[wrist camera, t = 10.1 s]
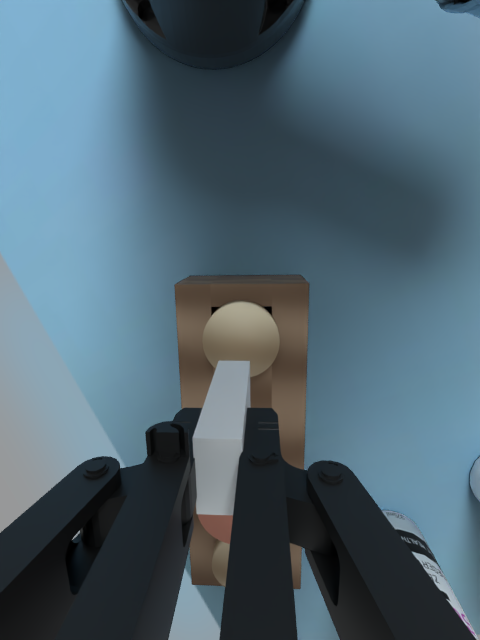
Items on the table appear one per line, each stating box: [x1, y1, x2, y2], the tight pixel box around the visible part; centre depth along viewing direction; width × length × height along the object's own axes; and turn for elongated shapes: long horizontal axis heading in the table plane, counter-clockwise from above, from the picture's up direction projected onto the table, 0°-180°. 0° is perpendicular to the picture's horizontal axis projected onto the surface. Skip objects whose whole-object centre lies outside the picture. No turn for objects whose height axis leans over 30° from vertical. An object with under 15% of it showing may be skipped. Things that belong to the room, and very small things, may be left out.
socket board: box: [175, 275, 309, 589], centre depth 33 cm, size 28×10×6 cm, turn 1°
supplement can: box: [381, 510, 479, 640], centre depth 31 cm, size 8×8×15 cm
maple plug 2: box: [202, 300, 280, 377], centre depth 29 cm, size 6×6×7 cm
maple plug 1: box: [212, 539, 230, 587], centre depth 34 cm, size 6×6×7 cm
